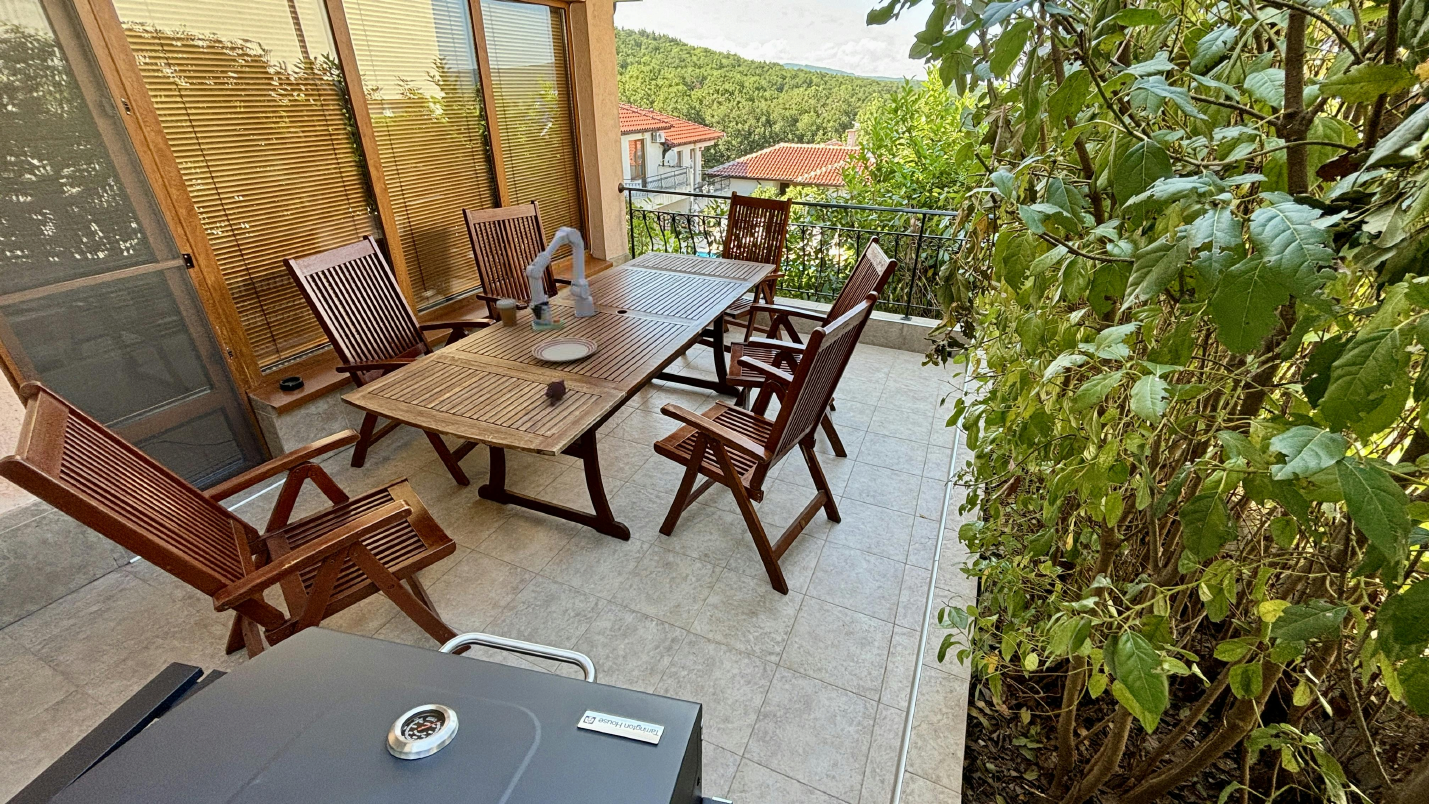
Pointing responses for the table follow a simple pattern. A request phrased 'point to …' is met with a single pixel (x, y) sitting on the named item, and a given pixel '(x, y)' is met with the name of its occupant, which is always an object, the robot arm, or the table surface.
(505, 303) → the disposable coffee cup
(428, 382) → the table surface
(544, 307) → the medicine box
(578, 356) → the dinner plate
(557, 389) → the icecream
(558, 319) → the power button
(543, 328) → the scale
